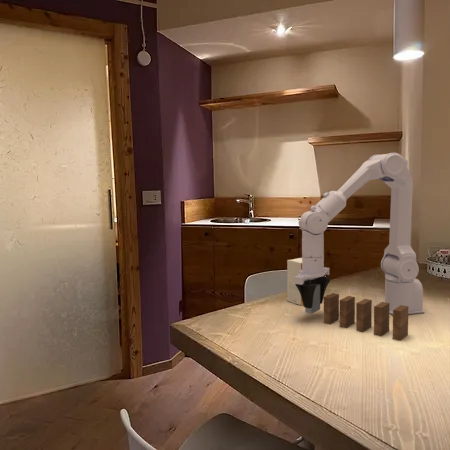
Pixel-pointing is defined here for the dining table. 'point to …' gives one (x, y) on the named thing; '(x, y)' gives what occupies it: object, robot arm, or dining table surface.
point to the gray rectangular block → (315, 301)
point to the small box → (293, 280)
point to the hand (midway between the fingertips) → (313, 305)
